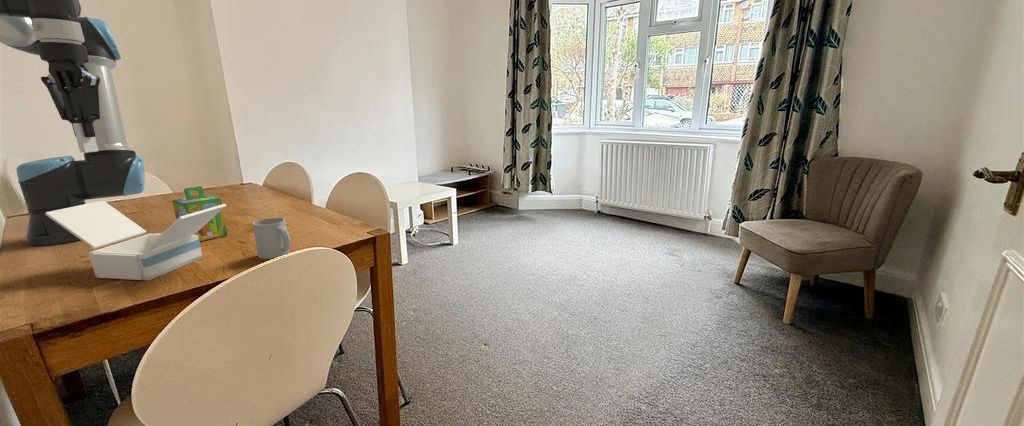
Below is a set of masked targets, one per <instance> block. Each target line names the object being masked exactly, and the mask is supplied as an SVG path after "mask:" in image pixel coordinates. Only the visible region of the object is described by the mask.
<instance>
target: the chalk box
mask: <svg viewBox="0 0 1024 426" xmlns="http://www.w3.org/2000/svg"><path fill="white" fill-rule="evenodd" d="M195 191H196V192H198V194H197V195H192V194H191V193H192V192H195ZM183 193H184V196H185V198H179V199H178V198H177V199H174V200H172V201H171V202H172V206H173V210H174V215H175V216H174V217H175V221H176V220H177V219H178V218H179V217H181V216H184V215H187V214H191V213H194V212H198V211H201V210H205V209H208V208H212V207H215V206H219V205H222V204H223V202H222V199H221V198H220V197H216V196H214V195H206V194H205V192H204V189H203V187H202V186H200V185H198V186H191V187H185V188H184V189H183ZM226 225H227V224H226V218H225V214H224V208H223V209H222V210H221V211H220V212H219V213H218V214H217V215H216V216H214V217H213V218H212V219H211V220H210V221H209V222H208V223H207V224H206V225H204V226H203V227H202V228H201V229H200V230H199V231H198V232H197V233H195V234H194V235H198V237H199V240H200V242H204V241H208V240H212V239H213V240H214V239H218V238H222V237H223V238H224V237H227V236H228V231H227V230H228V229H227V226H226Z"/></svg>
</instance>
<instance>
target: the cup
mask: <svg viewBox="0 0 1024 426" xmlns="http://www.w3.org/2000/svg"><path fill="white" fill-rule="evenodd" d="M252 228H253V229H252V230H253V236H254V241H255V247H256V248H255V249H256V252H257V253H256V254H257V257H259V258H260V259H261V260H273V259H272V258H275V257H278V256H282V255H285V254H287V255H289V253H290V252H291V251H290V250H291V245H292V244H291V236H290V233H289V232H288V228H287V224H286V219H285V218H284V217H268V218H267V217H266V218H262V219H258V220H255V221H253V222H252Z"/></svg>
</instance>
